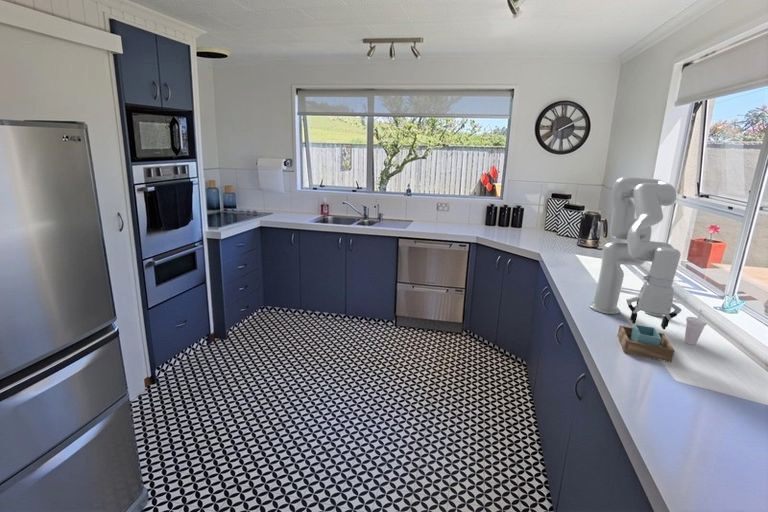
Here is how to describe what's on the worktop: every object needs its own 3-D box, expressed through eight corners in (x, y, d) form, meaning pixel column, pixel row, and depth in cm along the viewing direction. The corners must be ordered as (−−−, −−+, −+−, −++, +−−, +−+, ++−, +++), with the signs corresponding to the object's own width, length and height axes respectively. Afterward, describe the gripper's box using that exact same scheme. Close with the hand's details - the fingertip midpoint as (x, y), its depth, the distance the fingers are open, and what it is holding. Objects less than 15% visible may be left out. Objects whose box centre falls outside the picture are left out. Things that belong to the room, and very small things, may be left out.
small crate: (630, 338, 161) (633, 323, 159) (651, 342, 158) (654, 327, 157) (635, 349, 152) (639, 334, 150) (657, 353, 149) (661, 338, 148)
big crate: (617, 335, 164) (619, 325, 163) (660, 344, 160) (663, 333, 158) (623, 352, 151) (626, 341, 150) (671, 362, 146) (674, 350, 145)
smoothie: (691, 347, 159) (701, 313, 155) (676, 339, 165) (685, 306, 161) (704, 346, 161) (714, 312, 157) (688, 338, 166) (698, 305, 163)
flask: (645, 309, 195) (650, 289, 192) (663, 314, 191) (668, 293, 188) (642, 313, 190) (647, 293, 187) (661, 318, 185) (666, 297, 183)
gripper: (634, 280, 148) (623, 324, 153) (691, 289, 142) (677, 334, 147) (630, 274, 154) (620, 316, 160) (685, 282, 149) (672, 326, 154)
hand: (647, 325), depth 153 cm, fingers open, 9 cm apart
